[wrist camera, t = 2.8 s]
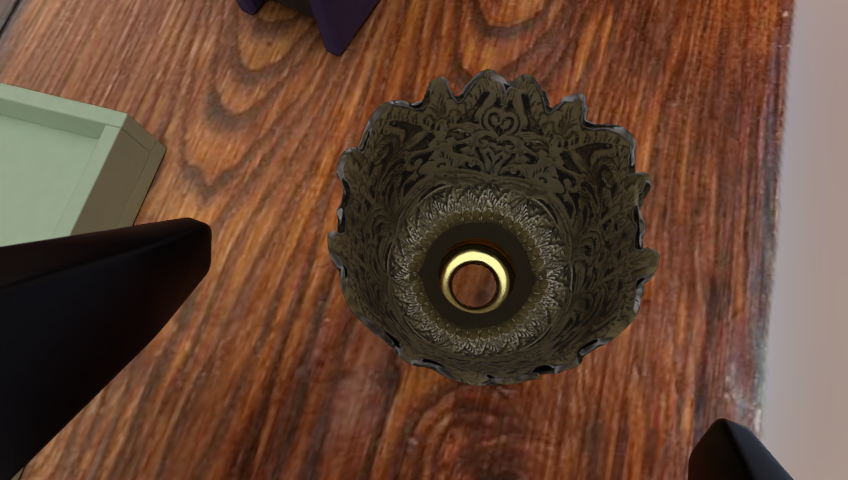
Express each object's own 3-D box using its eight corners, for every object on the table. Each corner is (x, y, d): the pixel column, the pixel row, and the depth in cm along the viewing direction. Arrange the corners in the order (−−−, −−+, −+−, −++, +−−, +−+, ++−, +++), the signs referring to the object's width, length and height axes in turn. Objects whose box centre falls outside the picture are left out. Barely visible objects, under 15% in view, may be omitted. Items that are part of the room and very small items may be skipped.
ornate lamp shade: (572, 403, 18) (665, 406, 10) (360, 379, 19) (299, 364, 11) (579, 199, 20) (660, 78, 13) (387, 182, 21) (354, 55, 13)
